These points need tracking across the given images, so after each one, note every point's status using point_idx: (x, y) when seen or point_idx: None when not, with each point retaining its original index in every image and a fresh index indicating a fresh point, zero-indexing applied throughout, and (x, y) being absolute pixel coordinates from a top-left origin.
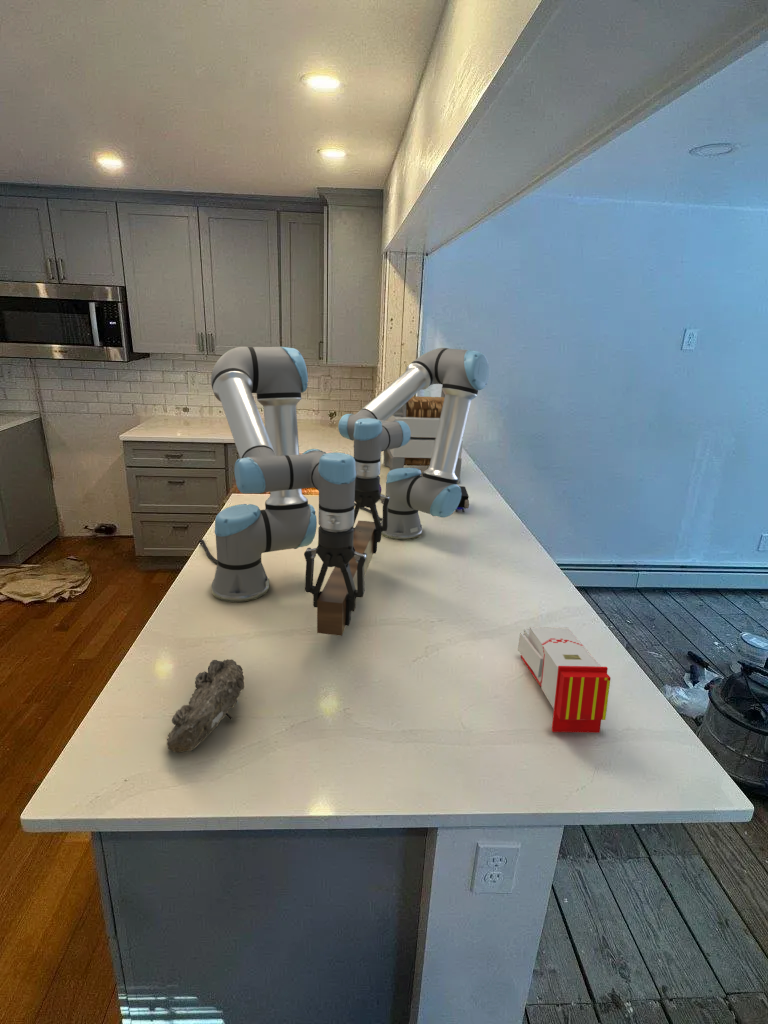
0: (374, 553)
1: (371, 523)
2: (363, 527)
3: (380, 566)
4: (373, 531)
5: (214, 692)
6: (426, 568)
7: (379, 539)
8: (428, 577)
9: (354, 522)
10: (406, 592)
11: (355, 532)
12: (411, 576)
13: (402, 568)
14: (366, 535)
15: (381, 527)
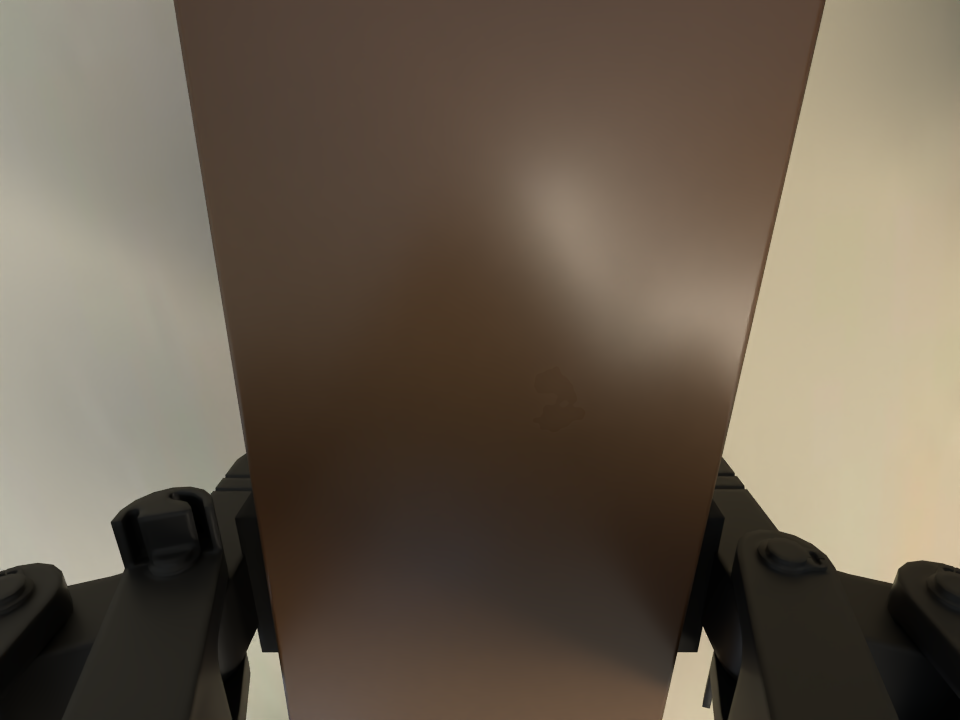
0: None
1: None
2: (507, 621)
3: None
4: (259, 497)
5: None
6: (70, 479)
7: (245, 471)
8: (6, 353)
9: (765, 697)
10: (72, 53)
11: (672, 321)
12: (128, 345)
13: (226, 450)
14: (338, 160)
15: (86, 642)
